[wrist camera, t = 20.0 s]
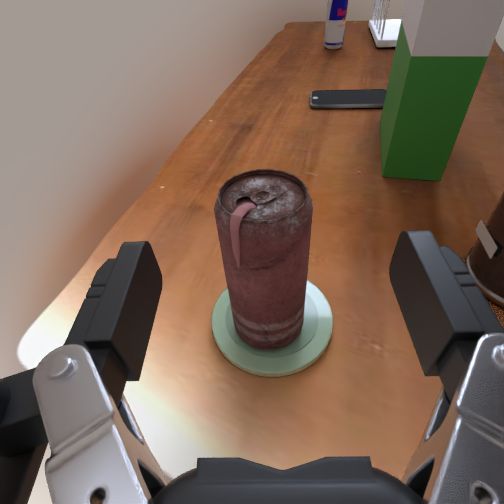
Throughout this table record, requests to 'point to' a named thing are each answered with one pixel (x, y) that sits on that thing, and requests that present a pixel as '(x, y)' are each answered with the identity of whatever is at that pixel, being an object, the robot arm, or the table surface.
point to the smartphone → (348, 98)
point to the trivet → (282, 359)
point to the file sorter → (384, 27)
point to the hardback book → (434, 82)
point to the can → (265, 254)
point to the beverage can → (335, 23)
